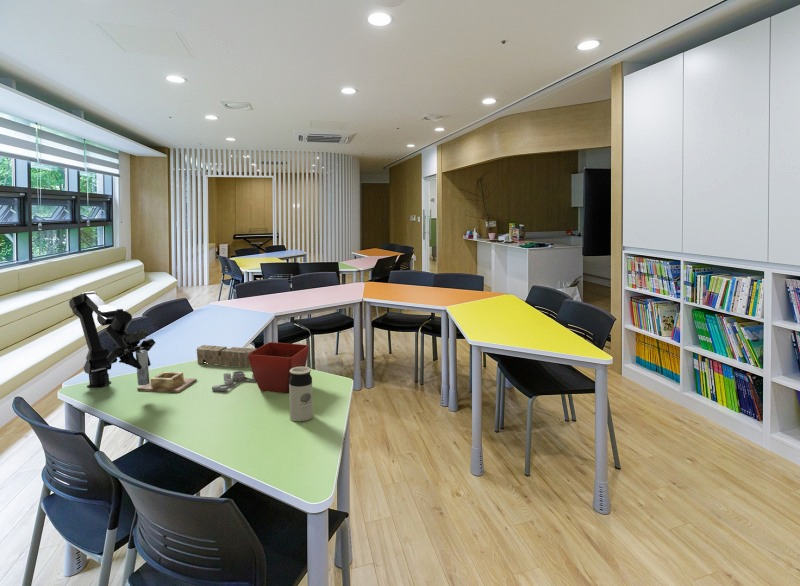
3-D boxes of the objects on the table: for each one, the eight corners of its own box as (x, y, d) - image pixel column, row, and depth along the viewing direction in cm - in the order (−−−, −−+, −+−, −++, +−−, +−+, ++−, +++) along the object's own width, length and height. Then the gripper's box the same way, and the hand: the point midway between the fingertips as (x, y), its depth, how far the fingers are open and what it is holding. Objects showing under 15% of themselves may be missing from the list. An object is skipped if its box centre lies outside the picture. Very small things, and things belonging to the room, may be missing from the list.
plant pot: (292, 398, 187) (291, 357, 185) (248, 394, 191) (246, 354, 188) (310, 381, 206) (309, 344, 203) (270, 378, 210) (269, 342, 207)
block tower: (195, 365, 230) (249, 368, 224) (193, 349, 229) (247, 351, 222) (205, 360, 237) (257, 363, 231) (203, 344, 236) (256, 346, 230)
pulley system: (204, 386, 202) (215, 394, 190) (204, 375, 202) (214, 383, 190) (265, 376, 219) (279, 383, 207) (265, 366, 218) (278, 372, 207)
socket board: (137, 390, 193) (136, 380, 193) (158, 379, 207) (157, 369, 206) (178, 392, 192) (177, 382, 191) (196, 380, 205) (196, 371, 205)
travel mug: (288, 415, 171) (286, 367, 168) (309, 411, 174) (308, 365, 172) (292, 423, 164) (291, 374, 161) (315, 420, 167) (314, 371, 164)
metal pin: (135, 385, 182) (133, 352, 180) (142, 381, 186) (140, 349, 184) (145, 385, 181) (142, 353, 179) (151, 382, 185) (149, 350, 183)
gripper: (110, 329, 172) (136, 361, 171) (150, 318, 190) (174, 348, 188) (95, 347, 175) (121, 379, 174) (136, 336, 193) (159, 364, 192)
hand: (145, 367), depth 182 cm, fingers closed on metal pin, 4 cm apart
